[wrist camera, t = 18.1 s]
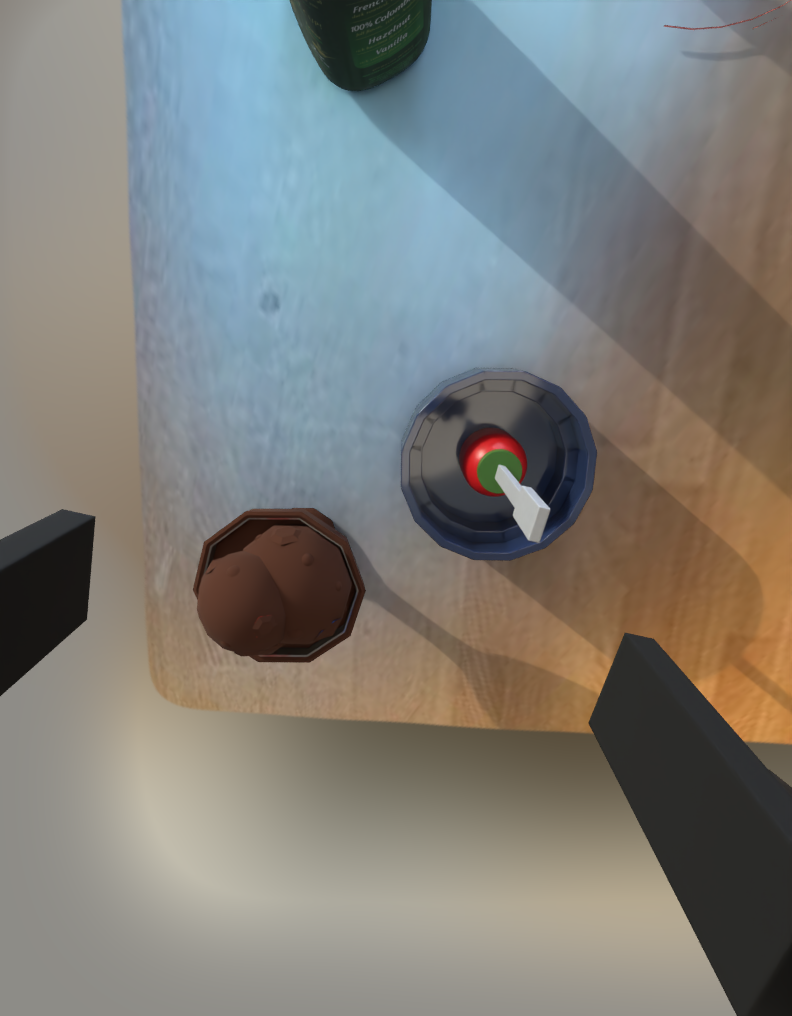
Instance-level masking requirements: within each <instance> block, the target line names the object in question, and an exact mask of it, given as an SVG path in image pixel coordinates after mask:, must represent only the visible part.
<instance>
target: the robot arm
mask: <svg viewBox="0 0 792 1016" xmlns="http://www.w3.org/2000/svg"><path fill="white" fill-rule="evenodd" d="M94 527H95V516H90V515H86V514H82V513H77V512H72V511H68V510H63V509H62V510H60V511H58V512H56V513H54V514H52V515H50V516H48V517H45V518H44V519H41V520H40V521H37V522H35V523H33V524H31V525H29V526H27V527H25V528H23V529H21V530H19V531H17V532H15V533H13V534H11V535H9V536H7V537H5V538H3V539H1V540H0V696H1V695H2V694H3V693H4V692H6V690H8V689H9V688H10V687H11V686H12V685H13V684H15V683H16V682H17V681H18V680H19V679H20V678H21V677H22V676H24V675H25V674H26V673H27V672H28V671H29V670H30V669H32V668H33V667H34V666H35V665H36V664H37V663H38V662H39V661H41V660H42V659H43V658H44V657H45V656H46V655H47V654H48V653H49V652H51V651H52V650H53V649H54V648H55V647H56V646H57V645H58V644H60V643H61V642H62V641H63V640H64V639H65V638H66V637H68V636H69V635H70V634H71V633H72V632H73V631H74V630H75V629H77V628H78V627H79V626H80V625H81V624H82V623H83V622H85V621H86V620H87V612H88V599H89V588H90V576H91V575H90V574H91V563H92V551H93V539H94ZM589 725H590V727H591V729H592V731H593V733H594V735H595V737H596V739H597V741H598V743H599V745H600V747H601V749H602V751H603V753H604V755H605V757H606V759H607V761H608V762H609V764H610V766H611V768H612V770H613V772H614V774H615V776H616V778H617V780H618V782H619V784H620V786H621V788H622V790H623V792H624V794H625V796H626V798H627V800H628V802H629V804H630V806H631V808H632V810H633V812H634V814H635V816H636V818H637V820H638V822H639V824H640V826H641V828H642V829H643V832H644V833H645V835H646V837H647V839H648V841H649V843H650V845H651V847H652V849H653V851H654V853H655V855H656V857H657V859H658V861H659V863H660V865H661V867H662V869H663V871H664V873H665V875H666V877H667V879H668V881H669V883H670V885H671V887H672V889H673V891H674V893H675V895H676V896H677V899H678V901H679V902H680V904H681V906H682V908H683V910H684V912H685V914H686V916H687V918H688V920H689V922H690V924H691V926H692V928H693V930H694V932H695V934H696V936H697V938H698V940H699V942H700V944H701V946H702V948H703V950H704V952H705V953H706V956H707V958H708V960H709V962H710V963H711V966H712V968H713V969H714V972H715V973H716V975H717V977H718V979H719V981H720V983H721V985H722V987H723V989H724V991H725V993H726V995H727V997H728V999H729V1001H730V1003H731V1005H732V1007H733V1009H734V1011H735V1013H736V1015H737V1016H792V787H790V786H789V785H788V784H787V783H785V782H784V781H783V780H782V779H780V778H779V777H778V776H777V775H775V774H774V773H773V772H771V771H770V770H768V769H767V768H766V767H765V765H763V763H762V762H761V761H760V760H759V759H758V757H757V756H756V755H755V754H754V753H753V752H752V751H751V750H750V748H749V747H748V746H747V745H746V744H745V743H744V741H743V740H742V739H741V738H740V737H739V736H738V735H737V733H736V732H735V731H734V730H733V729H732V728H731V727H730V725H729V724H728V723H727V722H726V721H725V720H724V719H723V717H722V716H721V715H720V714H719V713H718V712H717V711H716V709H715V708H714V707H713V706H712V705H711V704H710V703H709V701H708V700H707V699H706V698H705V697H704V696H703V695H702V693H701V692H700V691H699V690H698V689H697V688H696V687H695V685H694V684H693V683H692V682H691V681H690V680H689V679H688V677H687V676H686V675H685V674H684V673H683V672H682V671H681V669H680V668H679V667H678V666H677V665H676V664H675V663H674V661H673V660H672V659H671V658H670V657H669V656H668V655H667V653H666V652H665V651H664V650H663V649H662V648H661V647H660V645H659V644H658V643H657V642H656V641H655V640H654V639H652V638H647V637H643V636H638V635H634V634H629V633H625V634H624V636H623V639H622V641H621V644H620V646H619V649H618V651H617V654H616V656H615V659H614V661H613V664H612V666H611V669H610V671H609V674H608V676H607V678H606V681H605V683H604V686H603V688H602V691H601V693H600V696H599V698H598V701H597V703H596V706H595V708H594V711H593V713H592V716H591V718H590V721H589Z"/></svg>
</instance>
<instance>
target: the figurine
mask: <svg viewBox="0 0 792 1016" xmlns="http://www.w3.org/2000/svg"><path fill="white" fill-rule="evenodd" d="M790 1H791V0H790ZM788 2H789V1H788ZM788 2H787V3H788ZM785 4H786V3H785ZM782 6H783V5H782ZM780 7H781V6H780ZM778 8H779V7H778ZM775 9H777V8H775ZM775 9H773V10H775ZM773 10H771V11H773ZM769 12H770V11H769ZM766 13H768V12H766ZM766 13H764V14H766ZM764 14H762V15H764ZM760 16H761V15H760ZM757 17H759V16H757ZM757 17H755V18H757ZM753 19H754V18H753ZM775 19H776V18H775ZM749 20H752V19H749ZM749 20H745V21H749ZM773 20H774V19H773ZM745 21H742V22H745ZM738 23H741V22H738ZM738 23H734V24H738ZM766 23H767V22H766ZM734 24H730V25H734ZM764 24H765V23H764ZM730 25H726V26H730ZM762 25H763V24H762ZM726 26H721V27H707V28H685V27H676V26H668V25H664V27H672V28H681V29H689V30H696V29H710V28H722V27H726ZM759 26H761V25H759ZM757 27H758V26H757ZM755 28H756V27H755ZM753 29H754V28H753Z"/></svg>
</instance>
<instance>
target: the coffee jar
mask: <svg viewBox="0 0 792 1016" xmlns="http://www.w3.org/2000/svg"><path fill="white" fill-rule="evenodd" d="M290 3H291V6H292V9H293V12H294V14H295V16H296V19H297V21H298V24H299V26H300V29H301V31H302V33H303V36H304V38H305V40H306V42H307V44H308V46H309V48H310V50H311V52H312V54H313V56H314V58H315V60H316V61H317V63H318V65H319V67H320V68H321V70H322V71H323V73H324V74H325V75H326V77H327V78H328V79H329V80H330V81H331V82H333V83H334V84H335V85H337V86H338V87H340V88H342V89H345V90H350V91H361V90H366V89H369V88H372V87H374V86H377V85H379V84H381V83H383V82H385V81H387V80H389V79H391V78H393V77H395V76H396V75H398V74H399V73H401V72H402V71H403V70H405V69H406V68H407V67H409V66H410V65H411V64H412V63H413V62H414V61H415V60H416V59H417V58H418V57H419V55H420V54H421V52H422V51H423V49H424V47H425V45H426V43H427V39H428V35H429V31H430V21H431V3H432V0H290Z"/></svg>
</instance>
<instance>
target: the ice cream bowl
mask: <svg viewBox="0 0 792 1016" xmlns="http://www.w3.org/2000/svg"><path fill="white" fill-rule="evenodd" d="M193 591H194V593H195V595H196V597H197V599H198V606H197V611H198V614H199V618H200V620H201V622H202V624H203V626H204V628H205V631H206V633H207V635H208V636H209V637H210V638H212V639H213V640H214V641H215V642H216V643H217V644H218V645H220V646H221V647H222V648H224V649H226V650H230V651H234V653H235V654H238V655H240V656H250V657H251V658H253V659H254V660H256V661H258V662H311V661H313V660H314V659H316V658H317V657H319V656H320V655H322V654H323V653H325V652H326V651H328V650H330V649H331V648H333V647H334V646H336V645H337V644H339V643H340V642H342V641H343V640H345V639H346V638H348V637H349V636H351V633H352V630H353V627H354V624H355V621H356V618H357V615H358V612H359V609H360V606H361V603H362V600H363V597H364V594H365V591H366V590H365V587H364V583H363V580H362V577H361V575H360V572H359V569H358V567H357V564H356V561H355V559H354V556H353V553H352V551H351V548H350V545H349V543H348V540H347V537H345V536H344V535H342V534H341V533H339V532H338V531H336V530H335V527H334V525H333V522H332V520H330V519H329V518H327V517H326V516H325V515H323V514H322V513H320V512H319V511H317V510H316V509H314V508H292V509H251V510H249V511H246V512H244V513H243V514H242V515H240V516H239V517H237V518H236V519H235V520H233V521H232V522H231V523H229V524H228V525H227V526H225V527H224V528H223V529H221V530H220V531H219V532H217V533H216V534H214V535H213V536H212V537H210V538H209V539H208V540H206V541H205V542H204V545H203V549H202V553H201V557H200V562H199V566H198V570H197V575H196V579H195V583H194V588H193Z"/></svg>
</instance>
